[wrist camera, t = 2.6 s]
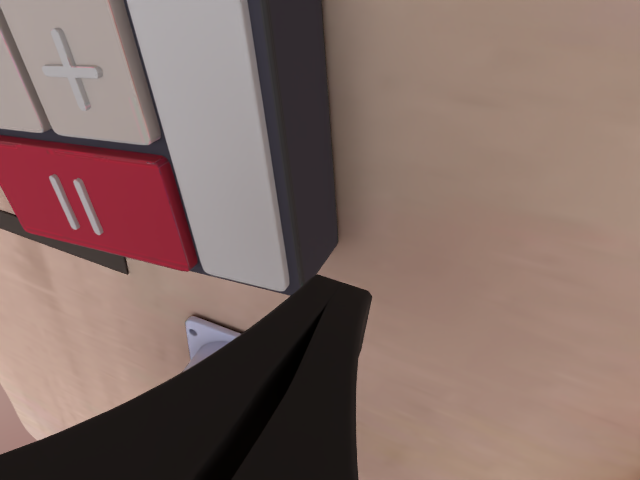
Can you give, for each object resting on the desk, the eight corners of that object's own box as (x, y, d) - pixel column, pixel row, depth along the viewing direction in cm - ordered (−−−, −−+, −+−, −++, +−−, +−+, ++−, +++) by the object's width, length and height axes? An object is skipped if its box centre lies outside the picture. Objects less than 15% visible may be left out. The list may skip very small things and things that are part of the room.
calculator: (-125, -20, 16) (237, -55, 10) (-8, -31, 19) (319, -63, 13) (18, 242, 22) (294, 314, 16) (88, 200, 25) (340, 248, 19)
